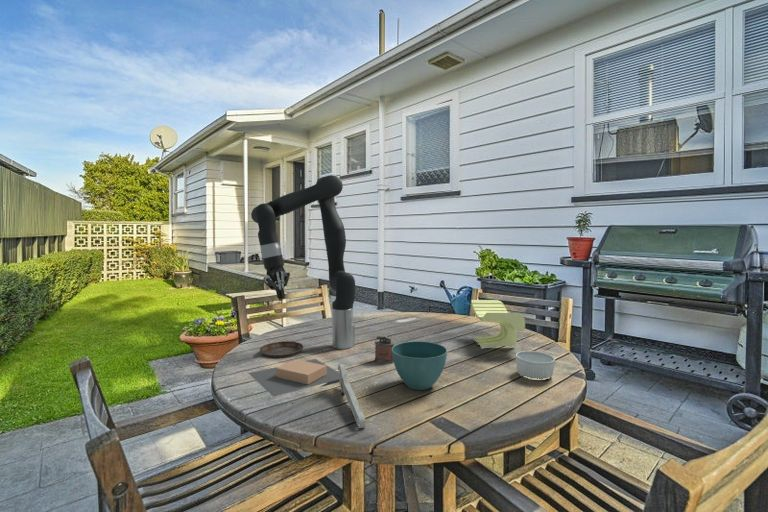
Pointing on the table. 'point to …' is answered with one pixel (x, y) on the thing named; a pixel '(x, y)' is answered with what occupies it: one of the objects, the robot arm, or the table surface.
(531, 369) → the ramekin
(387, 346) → the lighter
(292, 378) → the tan rectangular block
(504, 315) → the slatted curved stool
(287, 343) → the plant saucer
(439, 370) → the teal bowl
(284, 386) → the mat
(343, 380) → the wrench
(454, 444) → the table surface
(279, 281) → the robot arm
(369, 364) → the table surface
